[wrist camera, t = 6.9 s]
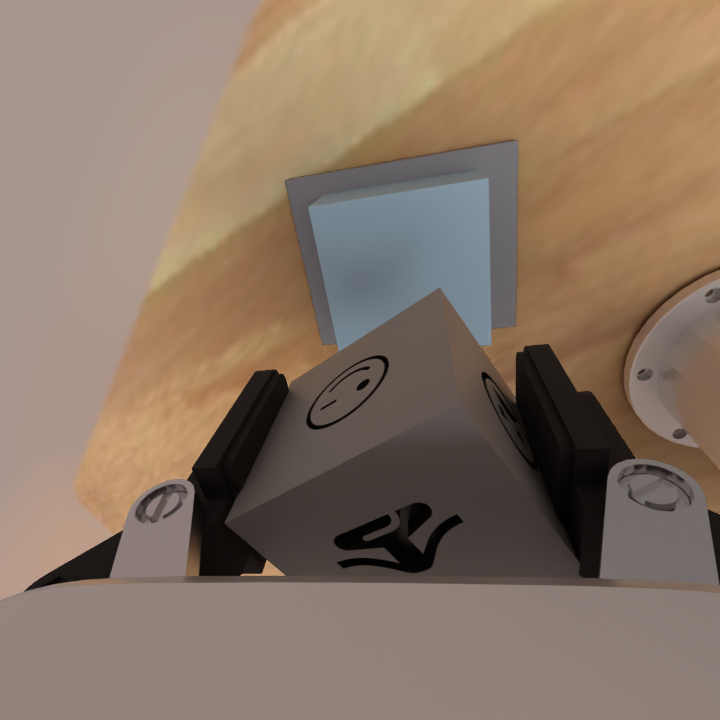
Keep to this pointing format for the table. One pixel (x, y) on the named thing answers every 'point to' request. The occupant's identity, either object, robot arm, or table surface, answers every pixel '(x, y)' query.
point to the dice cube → (403, 464)
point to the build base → (426, 164)
